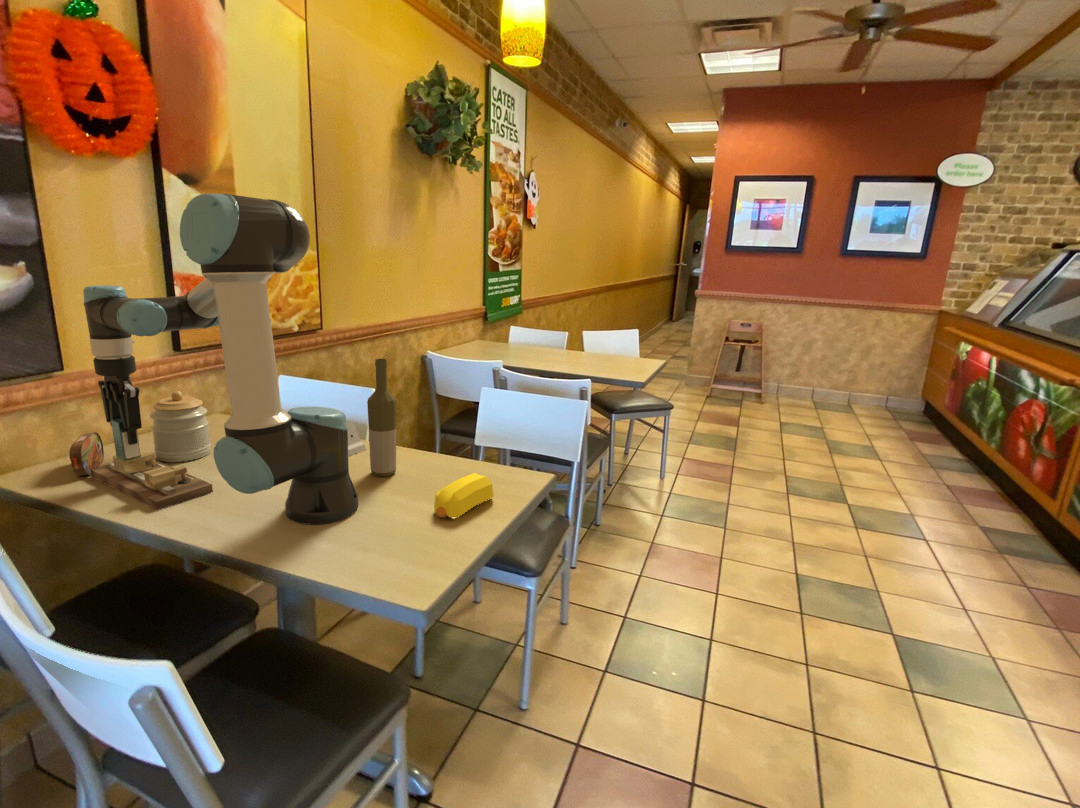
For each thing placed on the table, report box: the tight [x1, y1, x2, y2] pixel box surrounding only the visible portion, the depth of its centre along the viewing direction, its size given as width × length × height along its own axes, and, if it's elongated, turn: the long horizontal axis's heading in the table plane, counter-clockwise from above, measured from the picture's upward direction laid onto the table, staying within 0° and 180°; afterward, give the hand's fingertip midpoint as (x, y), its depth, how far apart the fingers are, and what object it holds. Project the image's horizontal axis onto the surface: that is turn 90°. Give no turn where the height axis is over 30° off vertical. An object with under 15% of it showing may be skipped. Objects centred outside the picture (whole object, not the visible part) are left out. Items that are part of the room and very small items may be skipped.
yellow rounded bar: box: [433, 472, 494, 518], centre depth 132 cm, size 18×7×8 cm
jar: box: [149, 390, 212, 463], centre depth 153 cm, size 13×13×18 cm
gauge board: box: [90, 459, 214, 511], centre depth 135 cm, size 30×12×6 cm, turn 59°
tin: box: [68, 431, 105, 477], centre depth 142 cm, size 15×3×8 cm, turn 22°
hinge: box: [346, 422, 367, 457], centre depth 159 cm, size 17×5×10 cm, turn 152°
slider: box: [110, 418, 157, 475], centre depth 135 cm, size 5×8×13 cm, turn 149°
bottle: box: [366, 358, 397, 477], centre depth 145 cm, size 7×7×30 cm
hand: (128, 454), depth 134 cm, fingers closed on slider, 3 cm apart
